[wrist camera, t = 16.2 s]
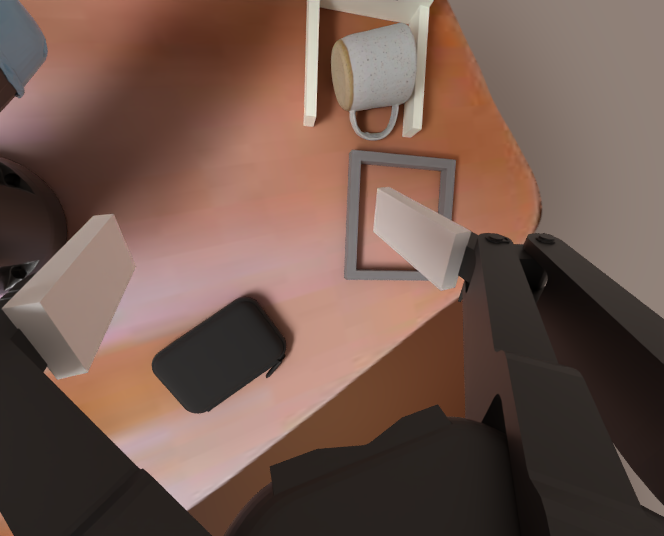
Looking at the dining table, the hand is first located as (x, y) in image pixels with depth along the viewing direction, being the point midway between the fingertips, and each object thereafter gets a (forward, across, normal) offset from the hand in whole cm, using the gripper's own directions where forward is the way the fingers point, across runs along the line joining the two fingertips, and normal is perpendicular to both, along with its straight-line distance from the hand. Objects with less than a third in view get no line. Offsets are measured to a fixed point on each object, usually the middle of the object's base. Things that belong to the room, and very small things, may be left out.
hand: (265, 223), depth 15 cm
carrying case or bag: (+14, -6, -23) cm, 28 cm away
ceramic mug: (+24, +17, +5) cm, 30 cm away
